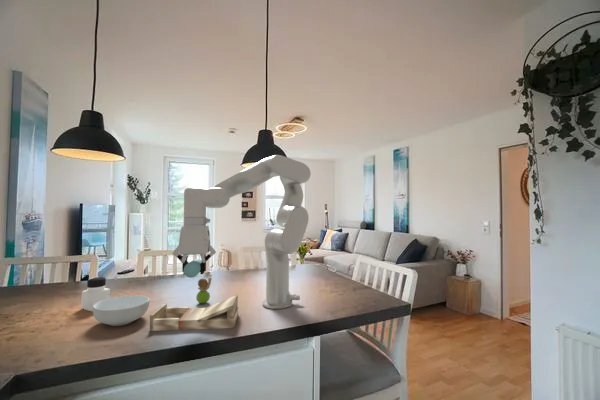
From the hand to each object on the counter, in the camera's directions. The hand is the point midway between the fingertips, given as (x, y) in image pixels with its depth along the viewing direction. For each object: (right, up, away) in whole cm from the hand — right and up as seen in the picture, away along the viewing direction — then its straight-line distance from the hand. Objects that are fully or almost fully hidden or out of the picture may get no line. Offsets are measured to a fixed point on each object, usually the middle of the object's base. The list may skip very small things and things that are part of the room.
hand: (194, 273), depth 100 cm
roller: (0, +2, 0) cm, 2 cm away
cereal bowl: (-25, -17, 0) cm, 31 cm away
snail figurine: (-3, -18, +20) cm, 27 cm away
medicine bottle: (-45, -18, +14) cm, 50 cm away
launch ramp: (+2, -17, -1) cm, 17 cm away
